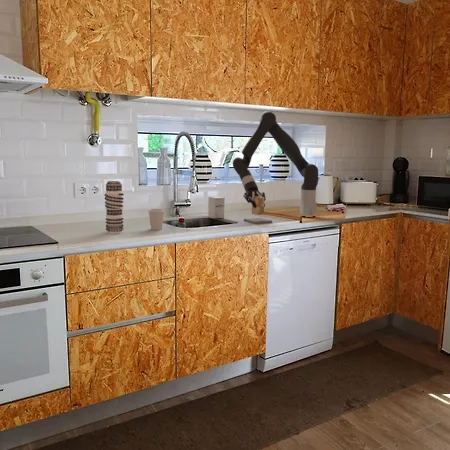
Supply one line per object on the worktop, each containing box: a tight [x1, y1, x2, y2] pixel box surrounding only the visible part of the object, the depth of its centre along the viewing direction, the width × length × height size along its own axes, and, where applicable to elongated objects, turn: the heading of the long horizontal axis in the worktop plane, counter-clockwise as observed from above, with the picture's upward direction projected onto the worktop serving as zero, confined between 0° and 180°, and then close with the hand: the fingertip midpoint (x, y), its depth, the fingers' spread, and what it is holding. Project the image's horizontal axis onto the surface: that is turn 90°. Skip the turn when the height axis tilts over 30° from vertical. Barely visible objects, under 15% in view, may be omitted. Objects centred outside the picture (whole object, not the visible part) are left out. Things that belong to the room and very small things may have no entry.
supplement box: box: [207, 196, 225, 220], centre depth 284 cm, size 7×7×13 cm
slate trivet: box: [243, 217, 273, 225], centre depth 272 cm, size 12×12×1 cm
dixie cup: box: [148, 208, 166, 231], centre depth 240 cm, size 8×8×10 cm
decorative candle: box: [104, 180, 125, 235], centre depth 227 cm, size 9×9×25 cm
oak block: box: [251, 196, 265, 216], centre depth 270 cm, size 5×5×10 cm
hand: (259, 207), depth 269 cm, fingers closed on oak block, 5 cm apart
